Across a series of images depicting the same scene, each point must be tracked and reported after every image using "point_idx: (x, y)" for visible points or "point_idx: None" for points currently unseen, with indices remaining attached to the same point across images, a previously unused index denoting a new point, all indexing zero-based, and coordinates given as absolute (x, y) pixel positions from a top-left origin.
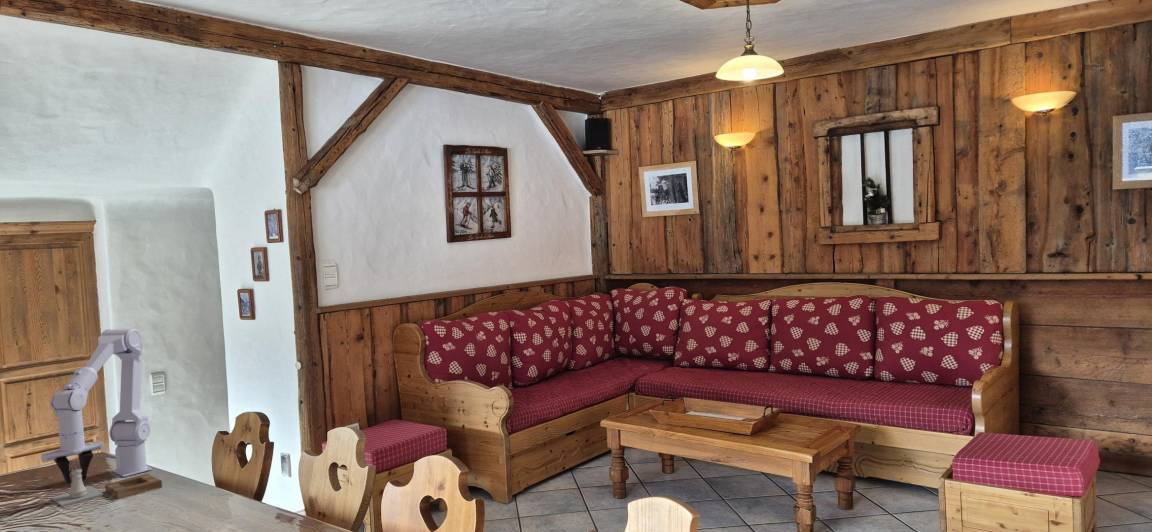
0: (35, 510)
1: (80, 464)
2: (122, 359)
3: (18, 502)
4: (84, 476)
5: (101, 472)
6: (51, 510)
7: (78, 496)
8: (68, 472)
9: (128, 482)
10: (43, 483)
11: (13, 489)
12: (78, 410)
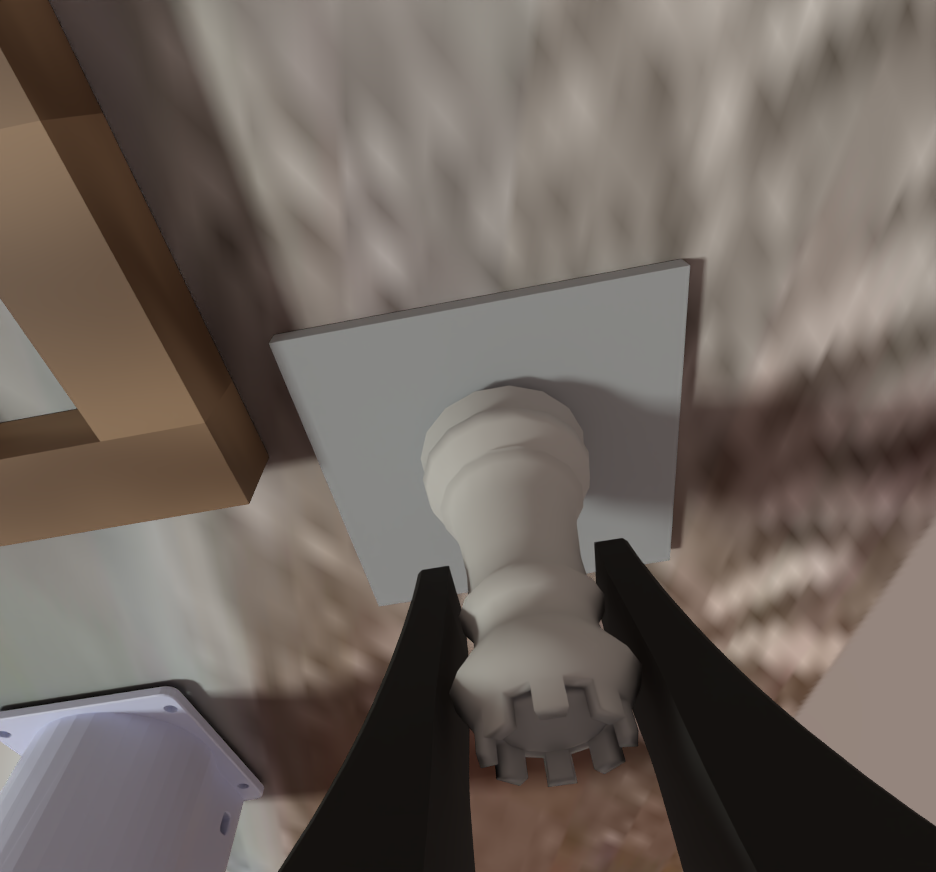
0: (868, 341)
1: (467, 825)
2: None
3: (820, 615)
4: (434, 597)
5: None
6: (794, 202)
7: (509, 385)
8: (671, 663)
9: (5, 450)
10: (601, 796)
11: None
12: None
